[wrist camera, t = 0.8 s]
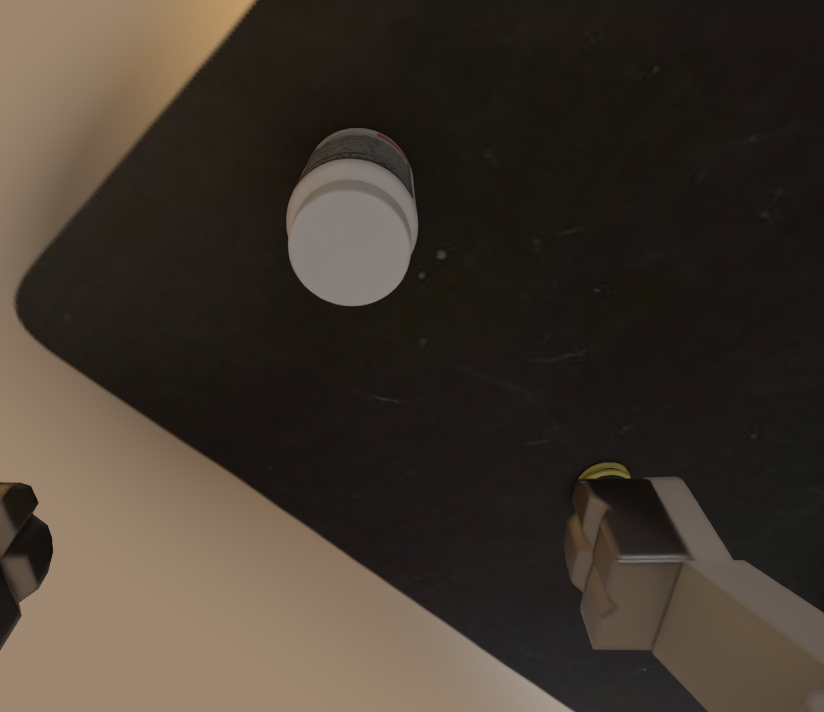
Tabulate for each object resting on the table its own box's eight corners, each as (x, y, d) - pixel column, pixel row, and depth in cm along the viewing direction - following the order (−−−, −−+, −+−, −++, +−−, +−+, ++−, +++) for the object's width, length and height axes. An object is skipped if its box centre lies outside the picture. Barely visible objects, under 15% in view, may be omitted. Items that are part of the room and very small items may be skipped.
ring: (568, 463, 36) (566, 502, 34) (623, 454, 35) (624, 495, 33) (587, 499, 38) (586, 539, 36) (640, 492, 37) (643, 533, 34)
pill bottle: (290, 142, 26) (250, 198, 18) (397, 113, 25) (398, 158, 18) (326, 245, 28) (302, 330, 21) (424, 219, 28) (435, 298, 20)
